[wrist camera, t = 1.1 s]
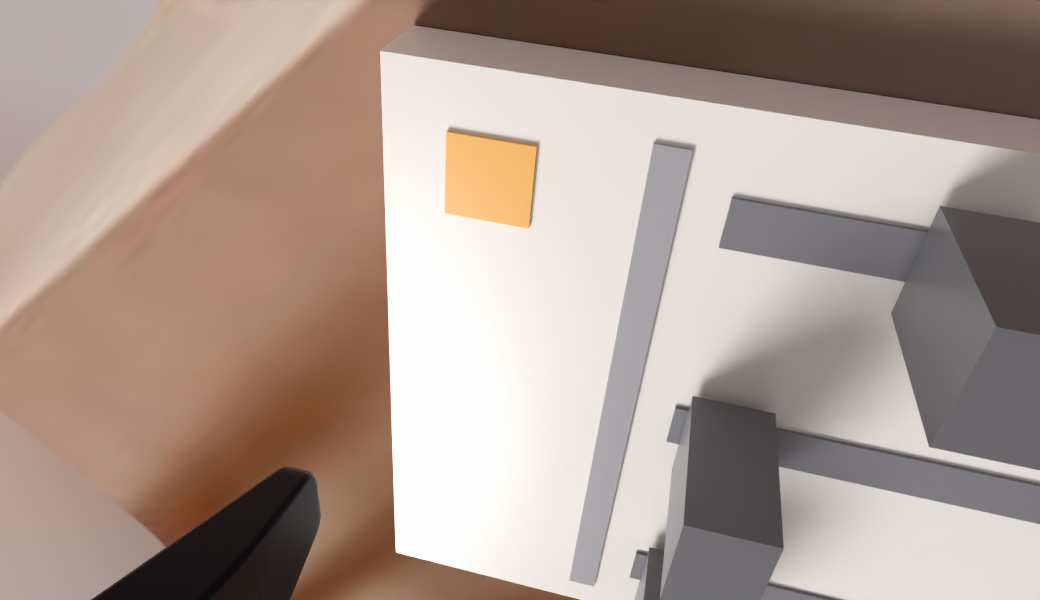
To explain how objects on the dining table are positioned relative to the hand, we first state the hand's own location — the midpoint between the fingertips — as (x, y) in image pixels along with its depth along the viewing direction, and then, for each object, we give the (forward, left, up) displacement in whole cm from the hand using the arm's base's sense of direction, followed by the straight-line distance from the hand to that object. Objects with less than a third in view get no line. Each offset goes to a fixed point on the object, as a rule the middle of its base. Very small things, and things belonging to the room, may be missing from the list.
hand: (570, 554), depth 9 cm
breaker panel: (-6, +6, -11) cm, 14 cm away
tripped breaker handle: (-6, 0, -9) cm, 11 cm away
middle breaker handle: (-3, +6, -9) cm, 11 cm away
